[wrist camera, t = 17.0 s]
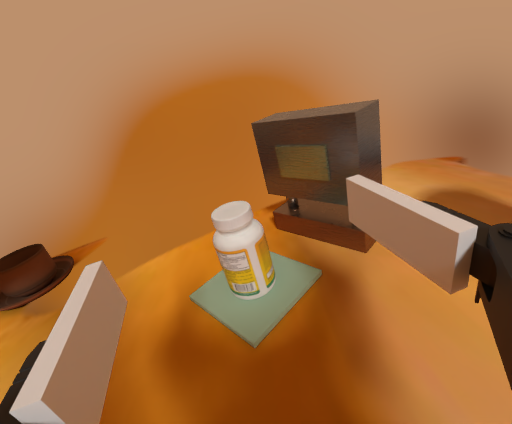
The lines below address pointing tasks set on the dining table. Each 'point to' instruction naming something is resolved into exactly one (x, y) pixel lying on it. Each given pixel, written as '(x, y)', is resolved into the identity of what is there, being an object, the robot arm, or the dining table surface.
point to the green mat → (261, 309)
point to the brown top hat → (30, 275)
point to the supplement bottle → (243, 251)
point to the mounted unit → (320, 167)
